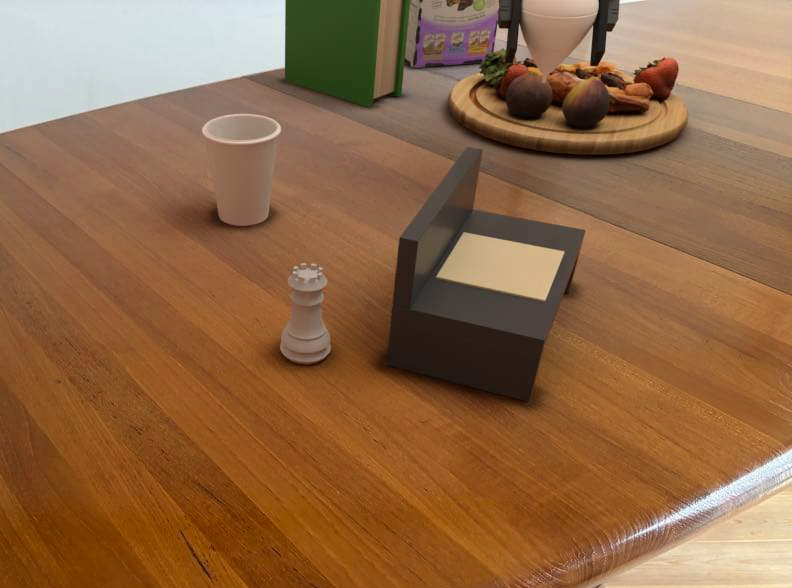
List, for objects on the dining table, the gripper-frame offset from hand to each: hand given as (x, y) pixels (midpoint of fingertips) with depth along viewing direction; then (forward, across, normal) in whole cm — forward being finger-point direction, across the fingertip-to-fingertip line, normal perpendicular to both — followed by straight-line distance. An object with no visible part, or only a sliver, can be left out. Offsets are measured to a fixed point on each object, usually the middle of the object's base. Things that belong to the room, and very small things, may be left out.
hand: (553, 57), depth 83 cm
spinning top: (0, 0, -5) cm, 5 cm away
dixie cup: (+16, +31, -7) cm, 36 cm away
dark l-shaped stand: (+29, +5, +6) cm, 30 cm away
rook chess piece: (+34, +21, +11) cm, 41 cm away
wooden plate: (-11, -8, -34) cm, 37 cm away
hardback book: (-16, +24, -40) cm, 50 cm away
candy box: (-28, +8, -51) cm, 59 cm away
